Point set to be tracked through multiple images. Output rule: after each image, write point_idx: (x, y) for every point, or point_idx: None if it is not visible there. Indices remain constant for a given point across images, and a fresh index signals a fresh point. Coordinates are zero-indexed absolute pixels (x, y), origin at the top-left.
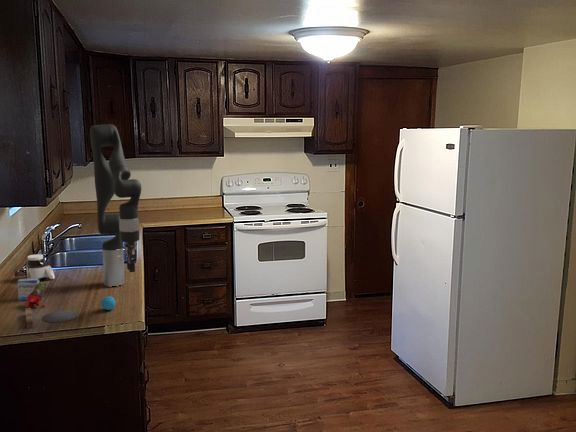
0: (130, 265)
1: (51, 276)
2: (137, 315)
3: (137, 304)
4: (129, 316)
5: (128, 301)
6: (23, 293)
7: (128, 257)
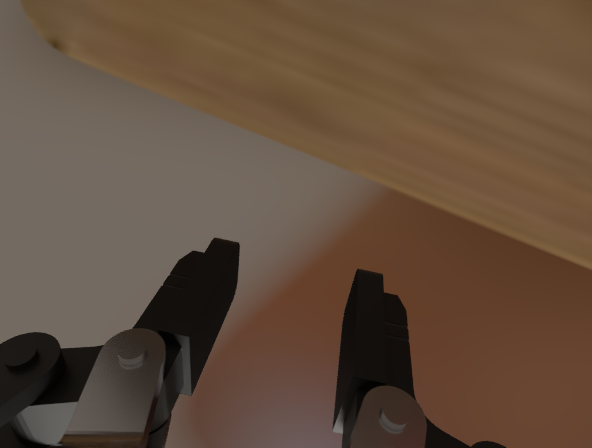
0: (156, 311)
1: None
2: (154, 76)
3: (351, 155)
4: (154, 24)
5: (450, 133)
6: None
7: (51, 446)
